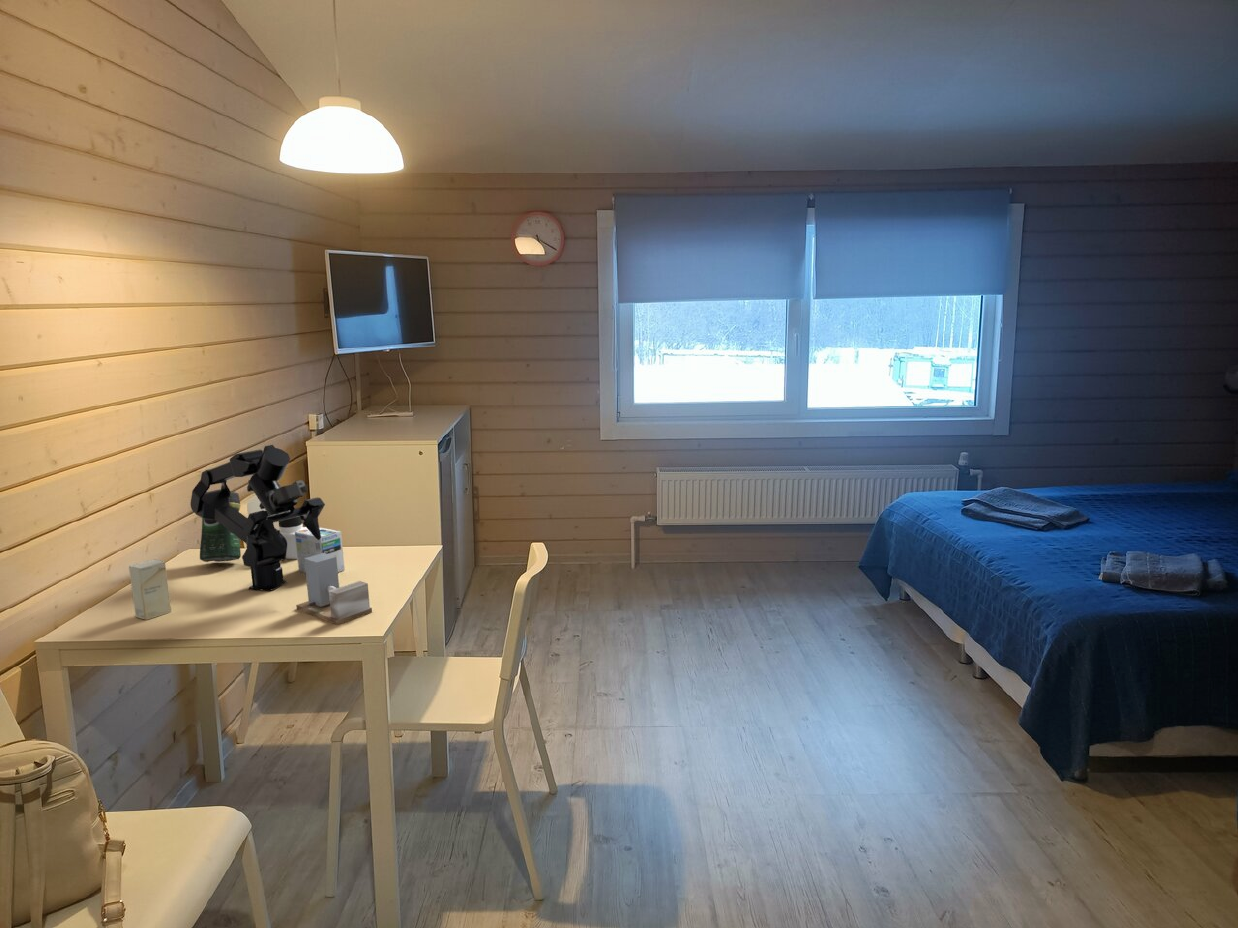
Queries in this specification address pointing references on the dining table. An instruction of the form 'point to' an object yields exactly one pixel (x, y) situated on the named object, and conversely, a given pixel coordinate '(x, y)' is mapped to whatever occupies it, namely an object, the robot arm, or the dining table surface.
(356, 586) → the block on stand
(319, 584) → the blue-gray square block
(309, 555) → the light bulb box
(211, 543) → the coffee jar
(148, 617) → the skincare box
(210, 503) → the robot arm
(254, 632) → the dining table surface
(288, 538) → the medicine bottle
